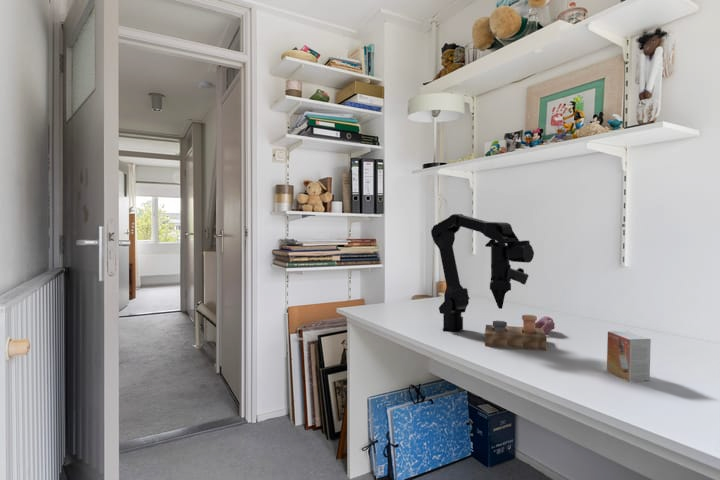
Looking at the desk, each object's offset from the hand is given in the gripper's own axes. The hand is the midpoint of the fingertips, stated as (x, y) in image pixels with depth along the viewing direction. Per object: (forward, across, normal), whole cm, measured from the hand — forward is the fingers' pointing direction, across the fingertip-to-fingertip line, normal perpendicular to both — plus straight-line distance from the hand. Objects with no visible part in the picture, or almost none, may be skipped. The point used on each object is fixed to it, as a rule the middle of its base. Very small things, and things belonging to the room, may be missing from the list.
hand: (500, 308), depth 134 cm
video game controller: (+11, +17, -14) cm, 25 cm away
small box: (+12, -23, -30) cm, 40 cm away
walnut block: (+11, 0, -4) cm, 12 cm away
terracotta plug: (+8, 0, -9) cm, 12 cm away
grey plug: (+11, 0, 0) cm, 11 cm away
